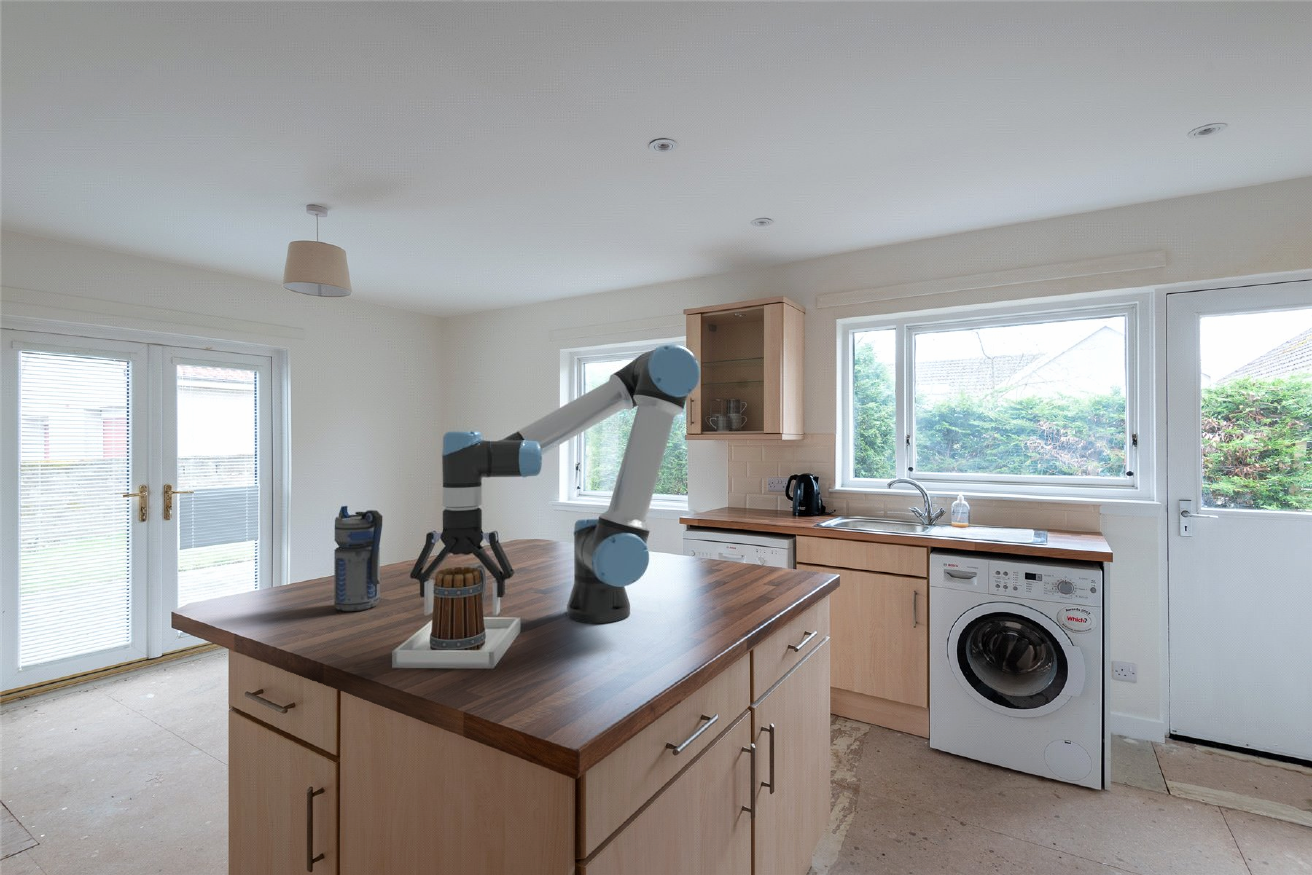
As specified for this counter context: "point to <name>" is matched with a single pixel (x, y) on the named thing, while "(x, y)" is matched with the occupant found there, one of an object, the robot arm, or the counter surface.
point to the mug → (458, 609)
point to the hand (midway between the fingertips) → (462, 613)
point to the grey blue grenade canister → (357, 560)
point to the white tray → (421, 656)
